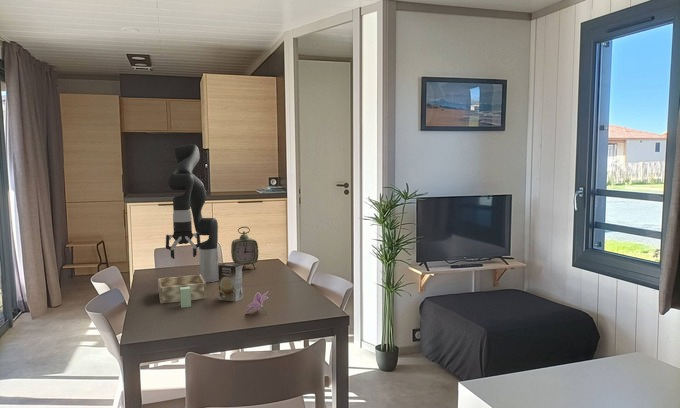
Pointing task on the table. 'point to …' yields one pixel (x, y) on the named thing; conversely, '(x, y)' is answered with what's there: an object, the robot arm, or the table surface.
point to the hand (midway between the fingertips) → (183, 257)
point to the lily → (257, 301)
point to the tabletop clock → (244, 250)
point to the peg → (185, 297)
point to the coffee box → (230, 281)
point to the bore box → (171, 286)
